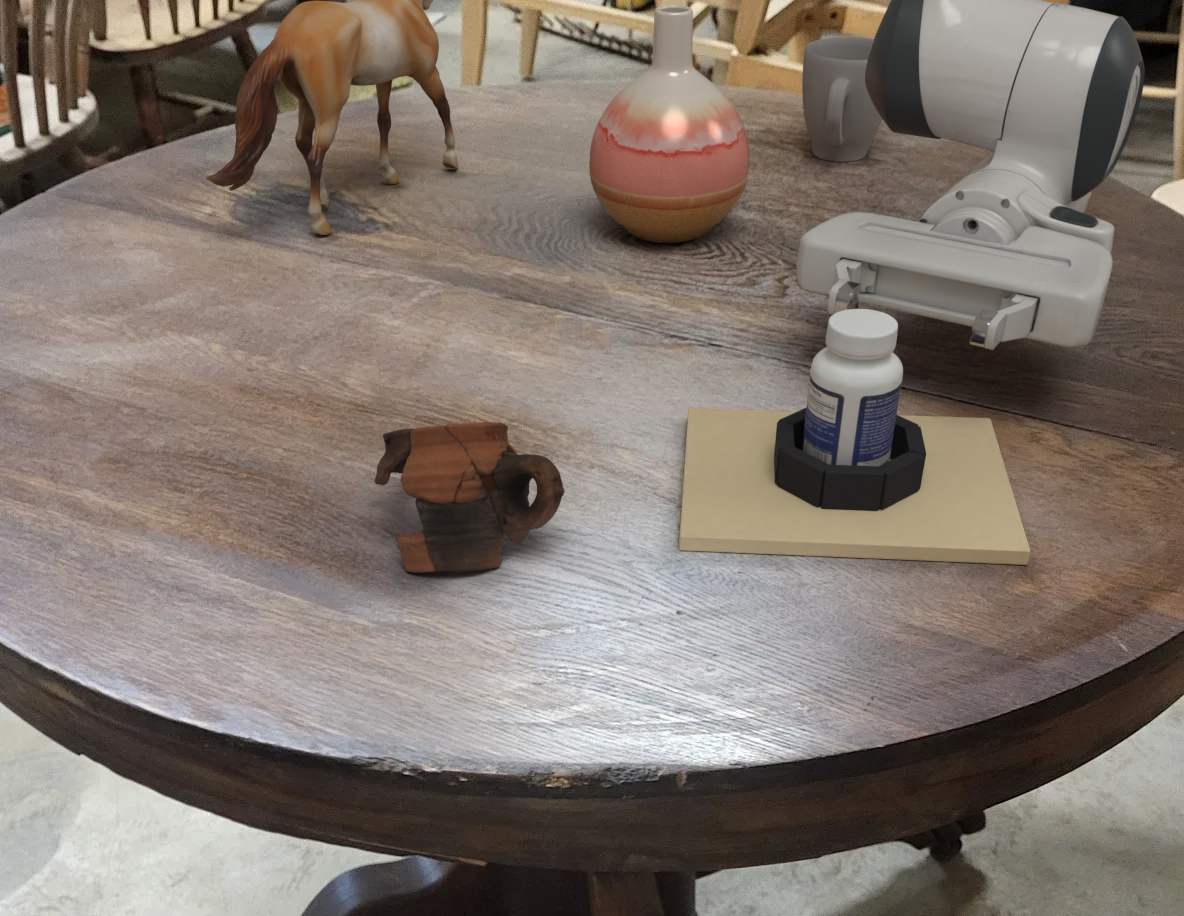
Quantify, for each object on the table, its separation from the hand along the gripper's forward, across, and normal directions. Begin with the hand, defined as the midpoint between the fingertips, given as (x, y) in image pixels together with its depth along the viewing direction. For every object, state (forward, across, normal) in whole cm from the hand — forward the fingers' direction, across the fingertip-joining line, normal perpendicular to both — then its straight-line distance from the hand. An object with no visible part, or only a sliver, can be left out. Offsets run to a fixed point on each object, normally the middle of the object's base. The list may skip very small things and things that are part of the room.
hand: (908, 320), depth 81 cm
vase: (-25, -30, +8) cm, 40 cm away
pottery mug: (+24, -17, +8) cm, 31 cm away
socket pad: (+8, 0, +8) cm, 11 cm away
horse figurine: (-18, -61, +8) cm, 64 cm away
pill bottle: (+8, 0, +7) cm, 11 cm away
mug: (-51, -25, +8) cm, 58 cm away
